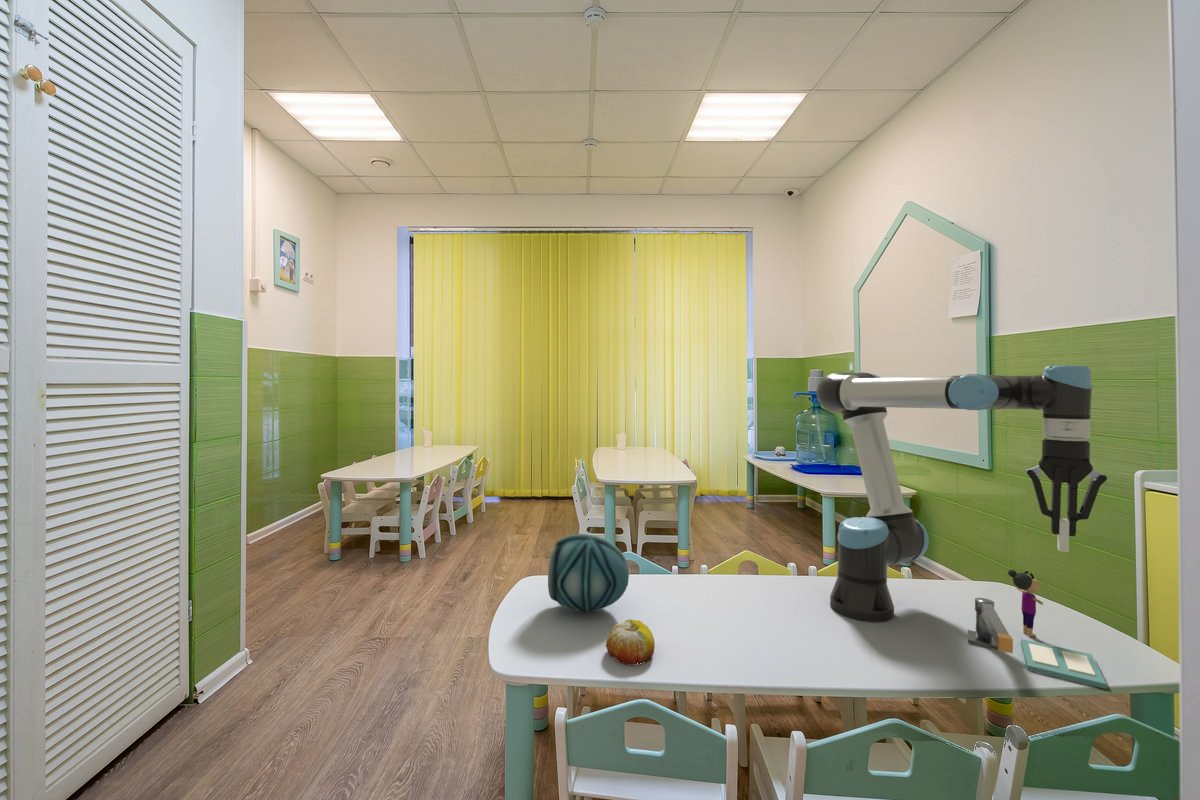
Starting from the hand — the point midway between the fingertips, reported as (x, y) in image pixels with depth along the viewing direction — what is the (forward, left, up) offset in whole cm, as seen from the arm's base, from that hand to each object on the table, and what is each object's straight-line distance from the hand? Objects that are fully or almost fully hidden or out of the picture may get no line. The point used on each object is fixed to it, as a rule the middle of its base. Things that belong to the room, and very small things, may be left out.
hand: (1062, 550), depth 110 cm
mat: (0, 0, -24) cm, 24 cm away
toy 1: (-97, -36, -25) cm, 106 cm away
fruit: (-77, -49, -25) cm, 94 cm away
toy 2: (-5, +13, -25) cm, 28 cm away
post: (-13, +3, -24) cm, 28 cm away
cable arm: (-12, -6, -18) cm, 22 cm away
